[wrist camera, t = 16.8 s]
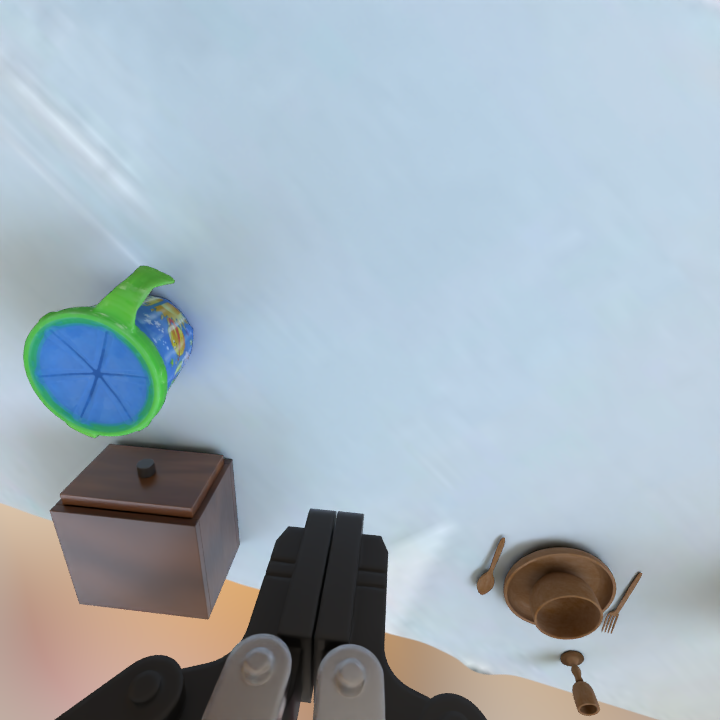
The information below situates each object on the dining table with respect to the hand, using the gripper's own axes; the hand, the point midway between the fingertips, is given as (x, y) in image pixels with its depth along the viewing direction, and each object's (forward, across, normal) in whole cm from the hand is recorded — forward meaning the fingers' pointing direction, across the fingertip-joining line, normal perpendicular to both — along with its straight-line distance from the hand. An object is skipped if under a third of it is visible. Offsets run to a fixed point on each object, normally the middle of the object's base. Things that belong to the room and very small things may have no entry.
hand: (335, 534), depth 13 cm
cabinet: (+29, +22, +28) cm, 46 cm away
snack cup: (+29, +21, +7) cm, 37 cm away
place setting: (+29, -22, +38) cm, 53 cm away
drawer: (+28, +21, +25) cm, 44 cm away
